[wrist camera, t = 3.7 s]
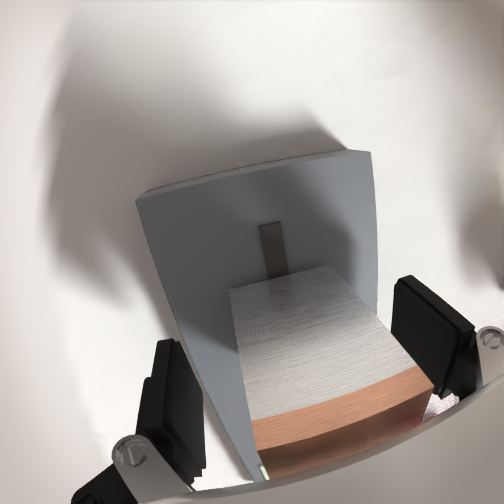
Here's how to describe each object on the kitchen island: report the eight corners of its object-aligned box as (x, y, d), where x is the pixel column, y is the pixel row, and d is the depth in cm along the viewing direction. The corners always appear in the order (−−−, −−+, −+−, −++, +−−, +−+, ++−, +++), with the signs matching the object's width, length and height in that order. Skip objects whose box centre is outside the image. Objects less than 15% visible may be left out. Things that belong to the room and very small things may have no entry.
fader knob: (329, 264, 11) (434, 385, 5) (334, 341, 13) (402, 459, 6) (228, 289, 11) (256, 450, 5) (249, 364, 13) (280, 502, 6)
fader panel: (348, 149, 12) (373, 152, 10) (347, 458, 23) (354, 474, 21) (146, 191, 12) (134, 201, 10) (261, 482, 22) (264, 499, 20)
